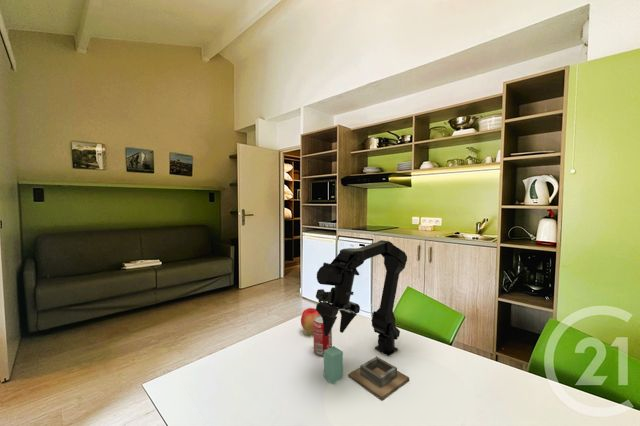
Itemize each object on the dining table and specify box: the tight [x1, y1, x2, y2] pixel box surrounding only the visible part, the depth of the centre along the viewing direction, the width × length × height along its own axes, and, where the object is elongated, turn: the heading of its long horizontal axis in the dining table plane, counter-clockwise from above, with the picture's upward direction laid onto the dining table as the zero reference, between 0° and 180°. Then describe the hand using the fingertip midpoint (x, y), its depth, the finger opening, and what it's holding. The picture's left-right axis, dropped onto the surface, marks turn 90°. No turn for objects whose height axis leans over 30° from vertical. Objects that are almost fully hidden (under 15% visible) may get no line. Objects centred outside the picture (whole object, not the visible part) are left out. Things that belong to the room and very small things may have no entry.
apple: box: [300, 307, 321, 335], centre depth 122 cm, size 10×10×10 cm
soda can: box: [312, 316, 333, 357], centre depth 107 cm, size 7×7×13 cm
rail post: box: [323, 345, 344, 384], centre depth 91 cm, size 4×4×9 cm
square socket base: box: [347, 356, 410, 401], centre depth 91 cm, size 14×14×4 cm
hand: (333, 334), depth 91 cm, fingers open, 9 cm apart
